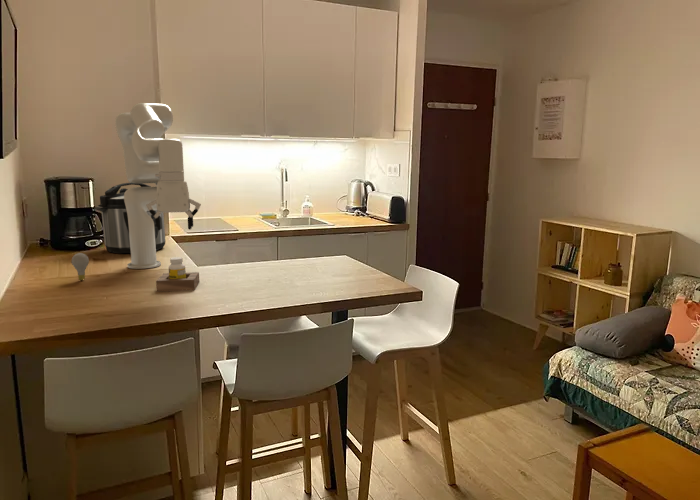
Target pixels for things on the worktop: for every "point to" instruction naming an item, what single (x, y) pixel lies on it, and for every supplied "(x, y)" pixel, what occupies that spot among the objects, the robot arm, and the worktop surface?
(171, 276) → the supplement bottle
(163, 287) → the socket block
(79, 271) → the light bulb
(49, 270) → the worktop surface
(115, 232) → the pressure cooker
